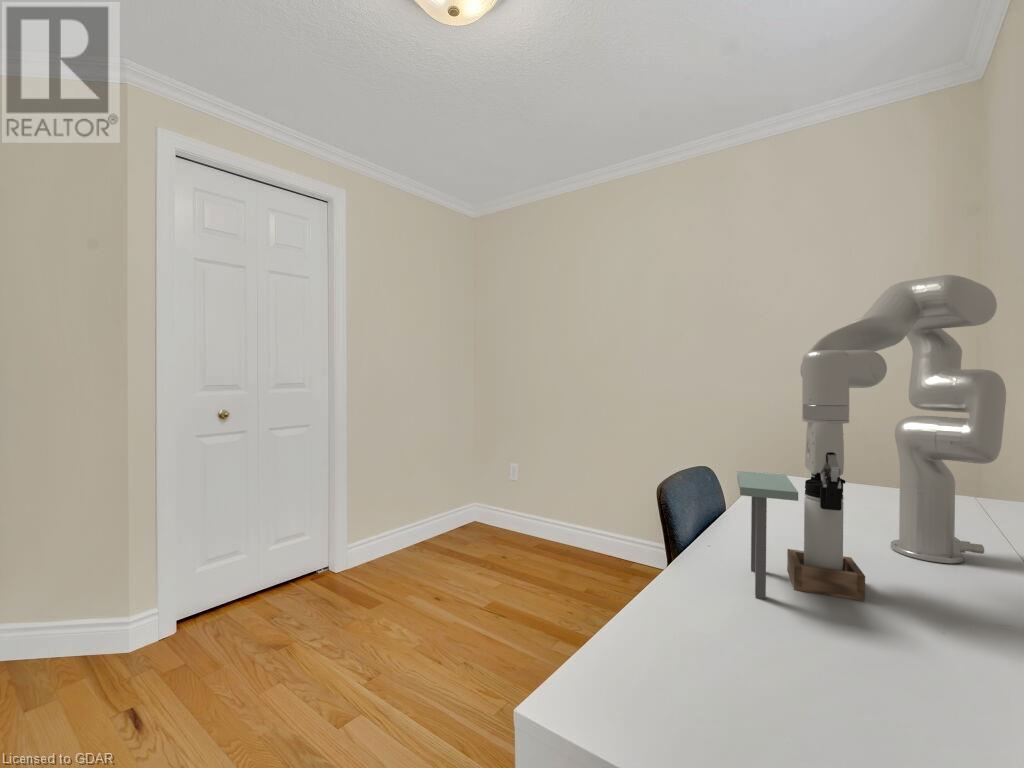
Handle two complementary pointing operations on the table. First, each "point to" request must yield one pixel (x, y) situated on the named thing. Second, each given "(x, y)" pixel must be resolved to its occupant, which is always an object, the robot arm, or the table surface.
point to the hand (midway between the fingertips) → (825, 502)
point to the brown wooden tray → (826, 577)
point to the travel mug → (822, 530)
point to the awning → (762, 515)
